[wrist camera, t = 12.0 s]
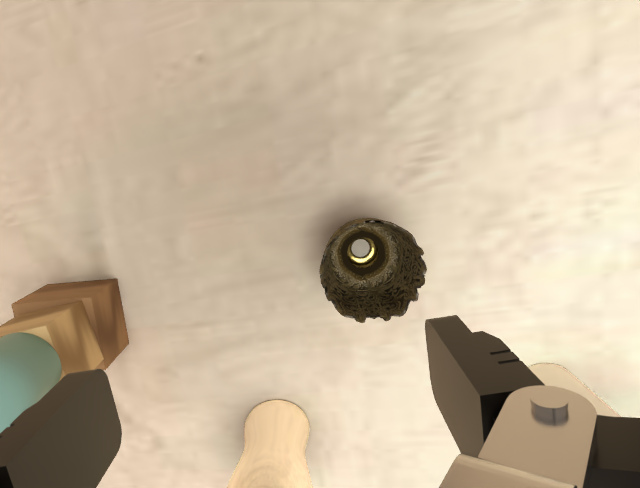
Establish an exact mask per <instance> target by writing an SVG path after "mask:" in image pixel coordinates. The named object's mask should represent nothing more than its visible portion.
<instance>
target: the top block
mask: <svg viewBox="0 0 640 488" xmlns="http://www.w3.org/2000/svg"><path fill="white" fill-rule="evenodd" d="M18 332H22V333H29V334H33V335H36V336H38V337H40V338H42V339H44V340H45V341H46V342H48V343H49V344H50V345H51V346H52V347H53V348H54V350H55V351H56V352H57V354H58V356H59V358H60V362H61V367H62V372H61V377H60V380H61V379H62V378H63V377H64V376H65V375H67V374H68V373H74V372H80V371H87V370H94V369H95V368H96V367H97V366H98V365H99V364H100V363H101V362H102V360H103V359H104V358H103V355H102V353H101V350H100V347H99V344H98V342H97V339H96V336H95V334H94V331H93V328H92V326H91V323H90V320H89V318H88V315H87V312H86V310H85V307H84V304H83V302H82V300H80V301H76V302H71V303H67V304H63V305H59V306H55V307H50V308H46V309H42V310H38V311H34V312H30V313H25V314H21V315H18V316H16V317H15V318H13V319H11V320H10V321H8V322H6V323H5V324H3V325H1V326H0V338H1V337H3V336H5V335H7V334H11V333H18ZM60 380H59V381H60Z"/></svg>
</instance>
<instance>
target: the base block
mask: <svg viewBox="0 0 640 488" xmlns="http://www.w3.org/2000/svg"><path fill="white" fill-rule="evenodd" d="M80 300H82V302H83V304H84V307H85V310H86V312H87V315H88V318H89V320H90V323H91V326H92V328H93V331H94V334H95V336H96V339H97V342H98V344H99V347H100V350H101V353H102V355H103V358H104V359H103V360H102V362H101V363H100V364H99V365H98V366H97V367H96V368H95V369H102V370H106V369H107V368H108V366H109V365H110V364H111V363H112V362H113V361H114V360H115V358H116V357H117V356H118V355H119V354H120V353H121V352H122V350H123V349H124V348H125V347H126V346H127V345H128V344H129V340H128V335H127V329H126V324H125V319H124V313H123V308H122V302H121V297H120V291H119V286H118V281H117V279H107V280H95V281H83V282H72V283H60V284H48V285H46V286H44V287H42V288H40V289H38V290H37V291H35V292H33V293H31V294H29V295H28V296H26V297H24V298H22V299H20V300H18V301H17V302H15V303H13V304H11V305H12V309H13V313H14V317H16V316H18V315H21V314H25V313H30V312H34V311H38V310H42V309H46V308H50V307H55V306H59V305H63V304H67V303H71V302H76V301H80Z"/></svg>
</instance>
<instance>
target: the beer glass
mask: <svg viewBox="0 0 640 488" xmlns="http://www.w3.org/2000/svg"><path fill="white" fill-rule="evenodd" d="M308 437H309V422H308V419H307V417H306V415H305V414H304V412H303V411H302V410H301V409H300V408H299V407H298V406H296V405H295V404H293V403H291V402H288V401H284V400H270V401H266V402H263V403H261V404H259V405H258V406H256V407H255V408H254V409H253V410H252V411H251V412H250V413H249V415H248V417H247V419H246V421H245V426H244V439H245V447H244V451H243V453H242V456H241V458H240V460H239V462H238V464H237V466H236V468H235V470H234V472H233V474H232V476H231V478H230V481H229V483H228V486H227V488H313V486H312V482H311V478H310V474H309V470H308V466H307V462H306V458H305V448H306V445H307V441H308Z"/></svg>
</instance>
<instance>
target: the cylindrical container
mask: <svg viewBox="0 0 640 488" xmlns="http://www.w3.org/2000/svg"><path fill="white" fill-rule="evenodd" d="M528 368H529V369H530V370H531V371H532V372H533V373H534V374H535V375H536V376H537V377H538V378H539V379H540V380H541V381H542V382H543V383H544V384H545V385H546V386H554V387H560V388H564V389H567V390H571V391H573V392H575V393H578V394H580V395H581V396H583V397H585V398H586V399H587V400H589V401H590V402H591V403H592V404H593V406H594V407H595V409H596V412H597V415H603V416H611V417H621V416H620V415H619V414H617V413H616V412H615V411H614V410H613V409H612V408H610V407H609V406H608V405H607V404H606V403H605V402H604V401H602V400H601V399H600V398H599V397H598V396H597V395H596V394H594V393H593V392H592V391H591V390H590V389H589V388H588V387H586V386H585V385H584V384H583V383H582V382H581V381H579V380H578V379H577V378H576V377H575V376H574V375H573V374H571V373H570V372H569V371H568V370H567V369H565V368H563V367H561V366H559V365H556V364H551V363H541V364H536V365H532V366H529V367H528Z"/></svg>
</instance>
